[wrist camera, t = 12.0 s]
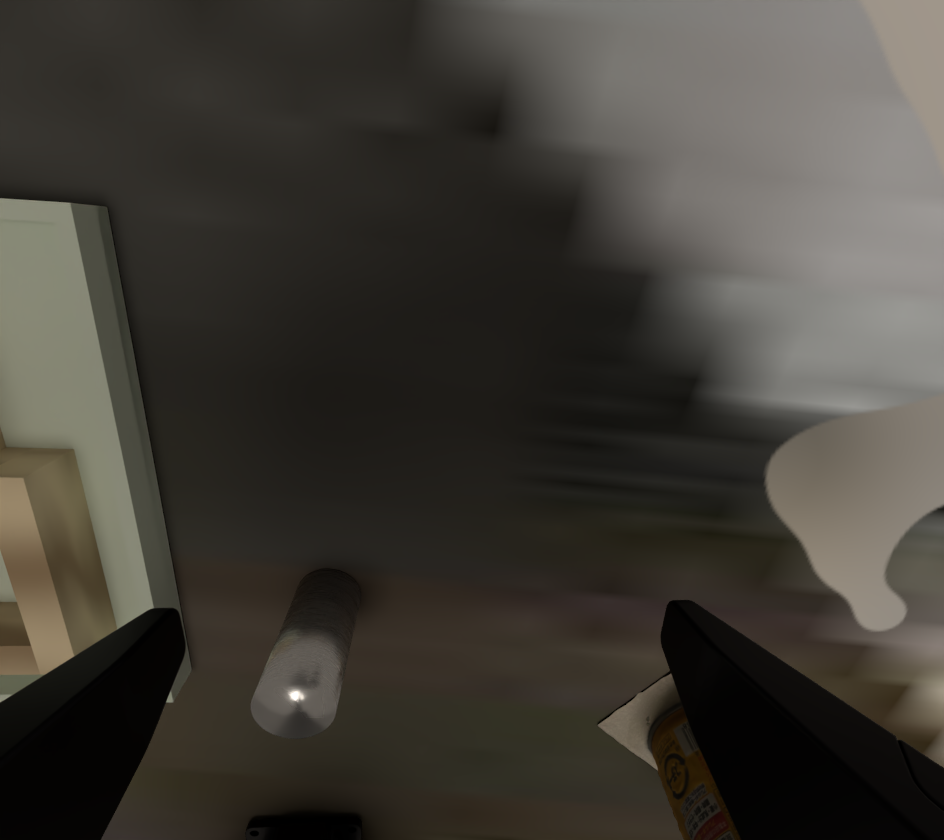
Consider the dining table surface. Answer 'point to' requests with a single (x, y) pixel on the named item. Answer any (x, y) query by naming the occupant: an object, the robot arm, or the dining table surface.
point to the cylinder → (309, 657)
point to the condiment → (673, 760)
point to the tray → (82, 396)
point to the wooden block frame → (48, 562)
